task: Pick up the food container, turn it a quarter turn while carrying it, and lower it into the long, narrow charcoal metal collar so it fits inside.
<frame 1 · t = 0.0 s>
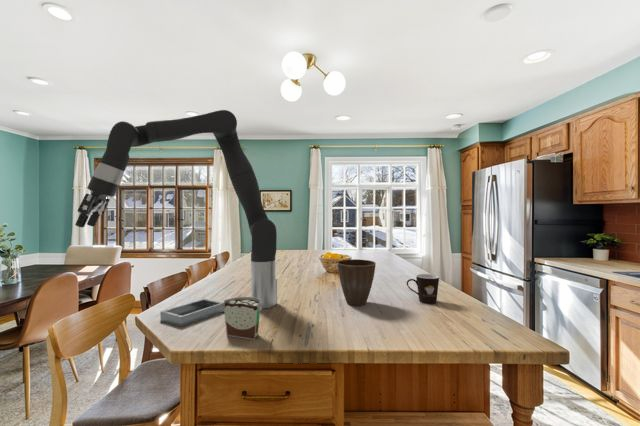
hand: (85, 226, 95), 31 cm above the countertop, tool tilted 20°, fingers open, 8 cm apart
plant pot: (356, 303, 115), on the countertop
collar: (193, 315, 102), on the countertop
food container: (246, 334, 86), on the countertop
coffee mug: (423, 301, 118), on the countertop
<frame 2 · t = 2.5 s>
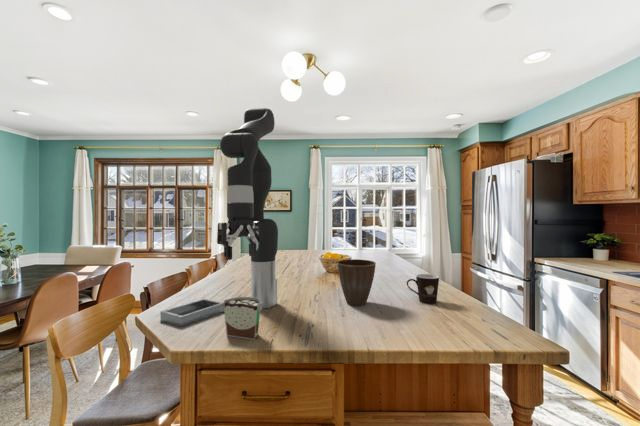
hand: (241, 257, 86), 22 cm above the countertop, tool pointing down, fingers open, 8 cm apart
nothing on the countertop moved.
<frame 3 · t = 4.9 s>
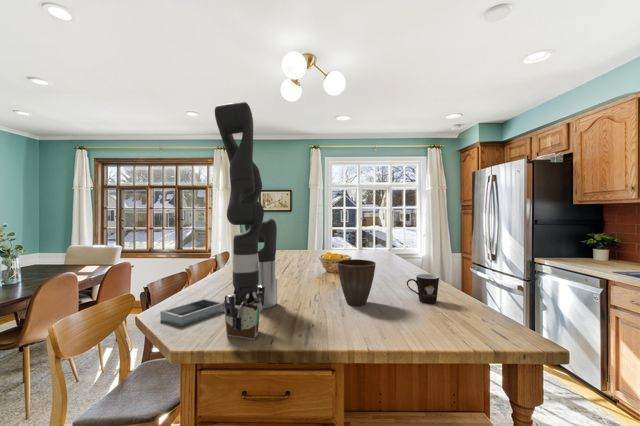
hand: (246, 326, 86), 2 cm above the countertop, tool pointing down, fingers open, 6 cm apart
food container: (246, 334, 86), on the countertop, touching gripper
everything else where it was.
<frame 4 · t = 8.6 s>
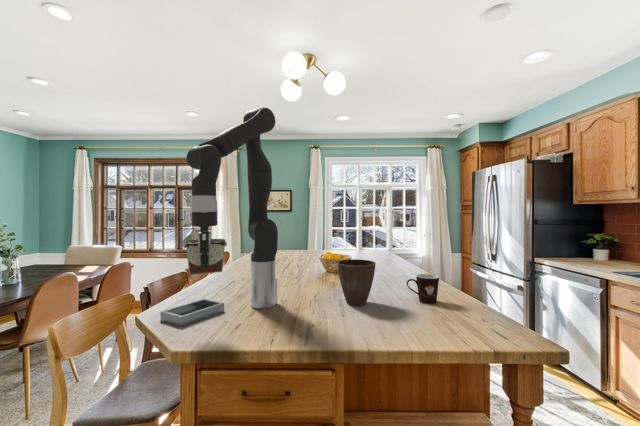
hand: (205, 265, 91), 19 cm above the countertop, tool pointing down, fingers closed on food container, 5 cm apart
food container: (204, 272, 92), point 17 cm above the countertop, touching gripper
everything else where it was.
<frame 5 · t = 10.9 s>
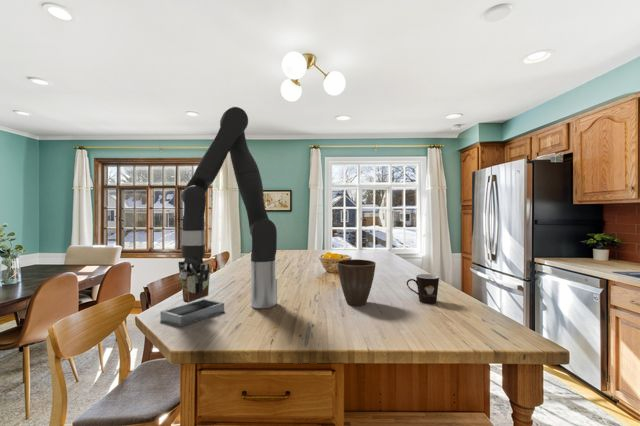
hand: (193, 292, 102), 8 cm above the countertop, tool pointing down, fingers closed on food container, 5 cm apart
food container: (191, 298, 102), point 6 cm above the countertop, touching gripper
everything else where it was.
when the fingers open (3 cm above the countertop, at t = 12.3 s): food container drops 1 cm, resting in collar.
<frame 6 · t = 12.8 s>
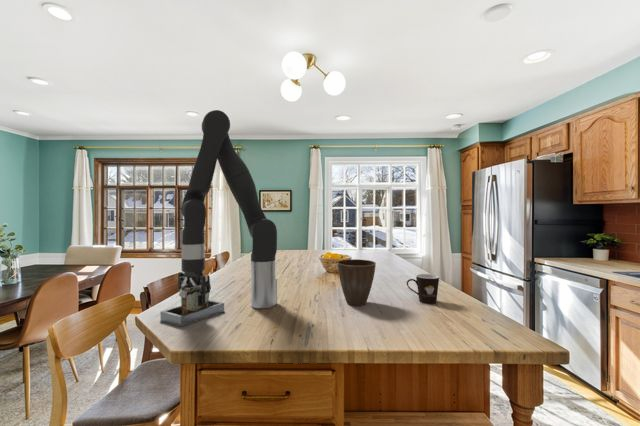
hand: (193, 303, 102), 4 cm above the countertop, tool pointing down, fingers open, 8 cm apart
food container: (190, 315, 103), resting in collar
everything else where it was.
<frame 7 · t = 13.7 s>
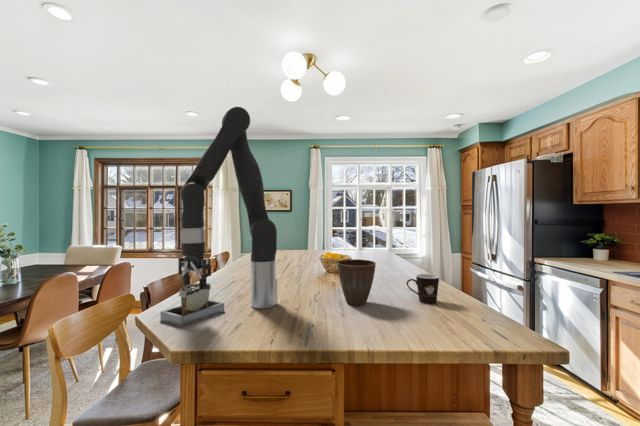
hand: (194, 287, 102), 10 cm above the countertop, tool pointing down, fingers open, 8 cm apart
food container: (190, 315, 103), resting in collar, touching gripper
everything else where it was.
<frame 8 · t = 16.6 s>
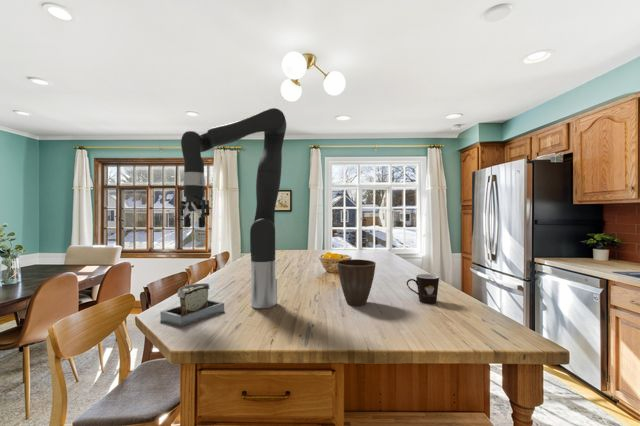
hand: (194, 227, 113), 30 cm above the countertop, tool pointing down, fingers open, 8 cm apart
food container: (190, 315, 103), resting in collar
everything else where it was.
at the end: food container 1.5 cm off-centre on the collar, point 0.0 cm above the collar's base; food container tilted 0°; the gripper is holding nothing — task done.
